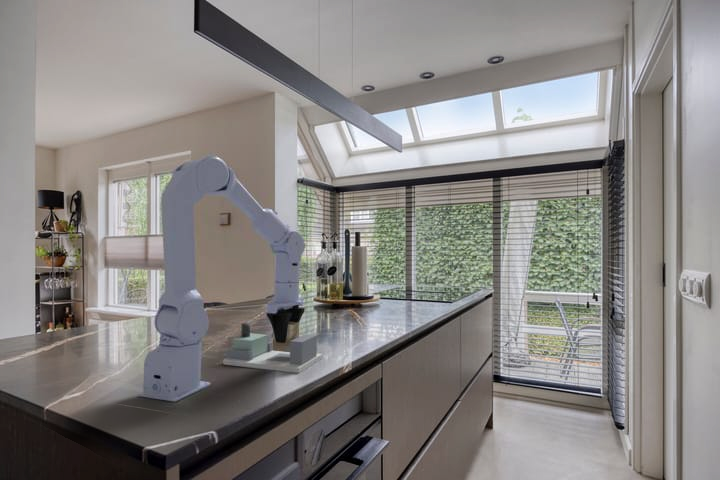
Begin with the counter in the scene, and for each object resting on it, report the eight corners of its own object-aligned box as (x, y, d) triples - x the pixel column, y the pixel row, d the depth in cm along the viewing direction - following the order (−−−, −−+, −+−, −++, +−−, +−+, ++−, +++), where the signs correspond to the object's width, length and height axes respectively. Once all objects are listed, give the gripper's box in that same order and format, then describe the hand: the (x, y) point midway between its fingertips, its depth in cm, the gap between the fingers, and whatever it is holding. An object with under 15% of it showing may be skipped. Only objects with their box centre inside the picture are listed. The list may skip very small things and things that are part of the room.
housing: (290, 352, 91) (290, 325, 91) (267, 350, 92) (268, 324, 92) (298, 347, 95) (299, 322, 95) (277, 345, 97) (278, 320, 97)
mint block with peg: (251, 358, 92) (252, 327, 92) (232, 356, 94) (233, 326, 94) (267, 351, 99) (267, 322, 99) (249, 349, 100) (250, 321, 100)
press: (299, 373, 85) (299, 344, 85) (223, 364, 91) (223, 337, 91) (322, 358, 98) (322, 333, 98) (254, 351, 103) (254, 327, 103)
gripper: (287, 284, 86) (286, 348, 85) (314, 280, 100) (313, 335, 99) (259, 283, 88) (257, 345, 87) (289, 279, 102) (288, 333, 101)
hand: (285, 340), depth 94 cm, fingers closed on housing, 4 cm apart
